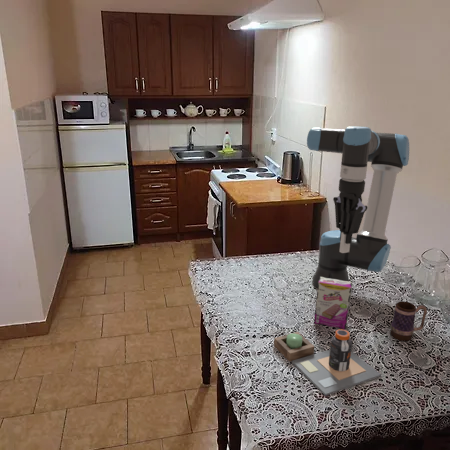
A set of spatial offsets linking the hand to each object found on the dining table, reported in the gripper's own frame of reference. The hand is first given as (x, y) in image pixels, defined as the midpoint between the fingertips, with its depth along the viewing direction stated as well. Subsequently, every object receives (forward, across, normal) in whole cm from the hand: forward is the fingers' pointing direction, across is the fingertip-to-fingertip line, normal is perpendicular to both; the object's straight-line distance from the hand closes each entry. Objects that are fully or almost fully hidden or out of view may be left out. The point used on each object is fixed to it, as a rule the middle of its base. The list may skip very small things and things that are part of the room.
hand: (344, 251), depth 136 cm
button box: (+29, +3, -19) cm, 35 cm away
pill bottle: (+29, +16, -12) cm, 35 cm away
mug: (+30, +12, +20) cm, 38 cm away
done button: (+29, +3, -19) cm, 35 cm away
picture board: (+29, +16, -13) cm, 36 cm away
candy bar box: (+30, -5, +2) cm, 30 cm away
